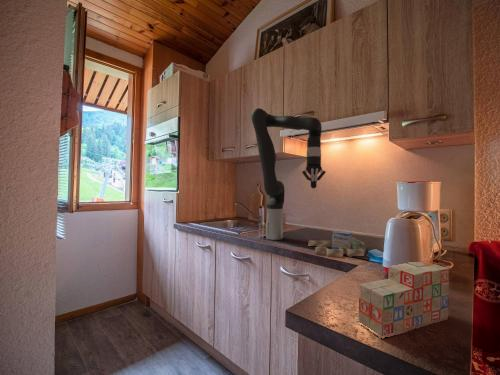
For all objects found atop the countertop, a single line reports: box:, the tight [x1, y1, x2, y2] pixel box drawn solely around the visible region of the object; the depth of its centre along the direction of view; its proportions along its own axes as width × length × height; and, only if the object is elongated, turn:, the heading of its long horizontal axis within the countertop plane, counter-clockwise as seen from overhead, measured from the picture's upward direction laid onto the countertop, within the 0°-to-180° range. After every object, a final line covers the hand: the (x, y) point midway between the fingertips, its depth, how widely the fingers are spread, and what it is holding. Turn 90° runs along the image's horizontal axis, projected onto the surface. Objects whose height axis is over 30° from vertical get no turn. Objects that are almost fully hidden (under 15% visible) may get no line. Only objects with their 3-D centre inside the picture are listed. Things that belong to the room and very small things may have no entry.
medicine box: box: [331, 230, 352, 249], centre depth 116 cm, size 8×4×9 cm, turn 58°
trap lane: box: [307, 236, 366, 258], centre depth 114 cm, size 22×17×5 cm
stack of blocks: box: [358, 260, 450, 336], centre depth 56 cm, size 21×6×12 cm, turn 112°
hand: (313, 188), depth 132 cm, fingers closed
